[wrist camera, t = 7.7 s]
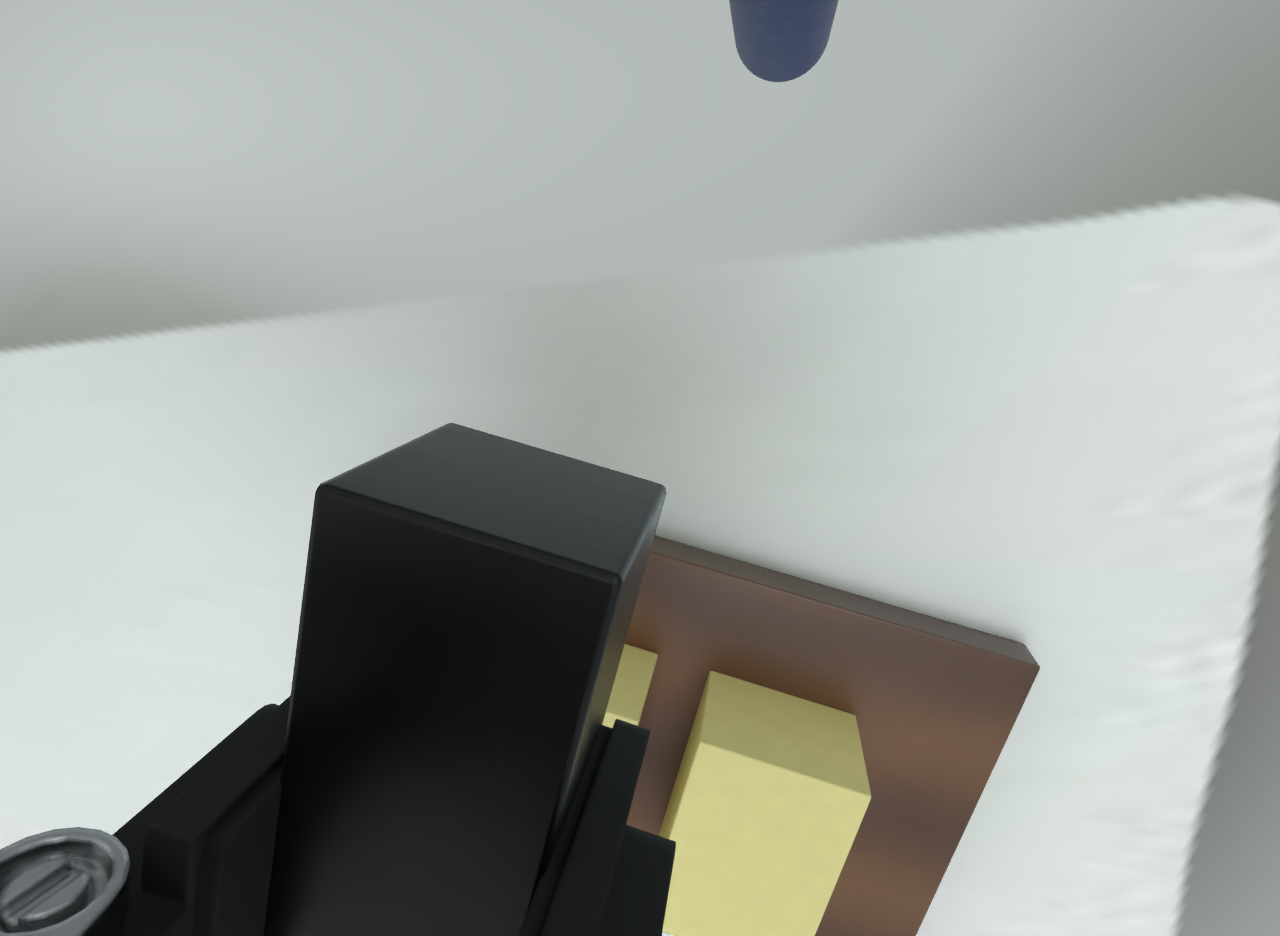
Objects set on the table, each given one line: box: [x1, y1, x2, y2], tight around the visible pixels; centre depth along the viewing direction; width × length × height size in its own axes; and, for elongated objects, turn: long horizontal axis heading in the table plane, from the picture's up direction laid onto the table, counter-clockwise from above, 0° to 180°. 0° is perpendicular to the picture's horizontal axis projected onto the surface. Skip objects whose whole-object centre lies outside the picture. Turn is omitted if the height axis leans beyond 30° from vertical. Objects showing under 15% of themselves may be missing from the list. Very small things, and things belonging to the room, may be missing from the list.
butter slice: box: [602, 644, 658, 728], centre depth 24 cm, size 7×2×4 cm, turn 167°
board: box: [625, 536, 1040, 936], centre depth 26 cm, size 14×22×2 cm, turn 77°
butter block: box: [659, 671, 871, 936], centre depth 23 cm, size 7×5×4 cm
